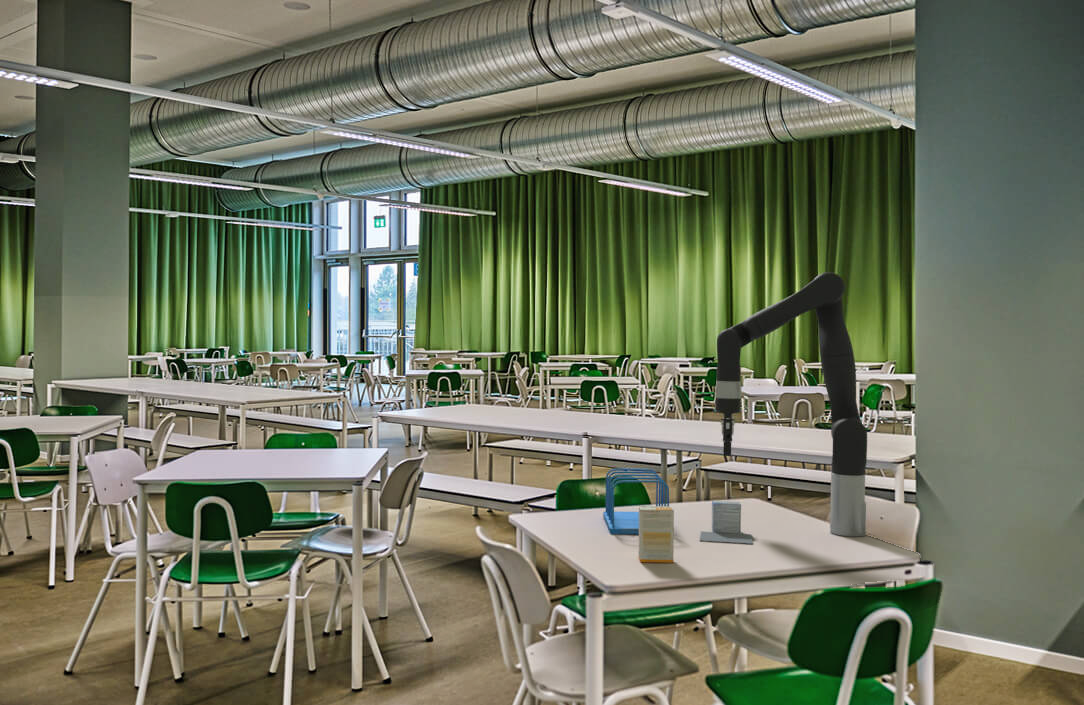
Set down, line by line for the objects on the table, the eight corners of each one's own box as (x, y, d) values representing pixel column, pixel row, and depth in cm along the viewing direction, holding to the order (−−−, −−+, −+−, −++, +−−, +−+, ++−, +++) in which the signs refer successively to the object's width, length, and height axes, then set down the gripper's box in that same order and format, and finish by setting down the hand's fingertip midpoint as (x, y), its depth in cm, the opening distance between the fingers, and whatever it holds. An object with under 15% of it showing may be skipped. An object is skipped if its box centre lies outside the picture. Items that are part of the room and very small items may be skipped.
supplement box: (671, 558, 217) (672, 505, 217) (673, 563, 212) (674, 509, 212) (637, 558, 217) (638, 505, 217) (639, 562, 212) (640, 508, 212)
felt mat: (751, 535, 246) (751, 534, 246) (752, 544, 235) (752, 543, 235) (700, 532, 249) (700, 531, 249) (699, 541, 237) (699, 540, 237)
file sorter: (603, 517, 270) (603, 467, 270) (659, 518, 270) (660, 468, 270) (609, 534, 245) (610, 479, 245) (671, 535, 245) (672, 480, 245)
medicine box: (739, 531, 252) (739, 501, 252) (740, 534, 248) (741, 503, 248) (711, 530, 253) (711, 500, 253) (712, 533, 248) (713, 502, 248)
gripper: (741, 398, 251) (740, 458, 251) (740, 395, 265) (739, 452, 265) (715, 397, 253) (714, 457, 253) (715, 395, 267) (714, 451, 267)
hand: (727, 454), depth 259 cm, fingers open, 3 cm apart
